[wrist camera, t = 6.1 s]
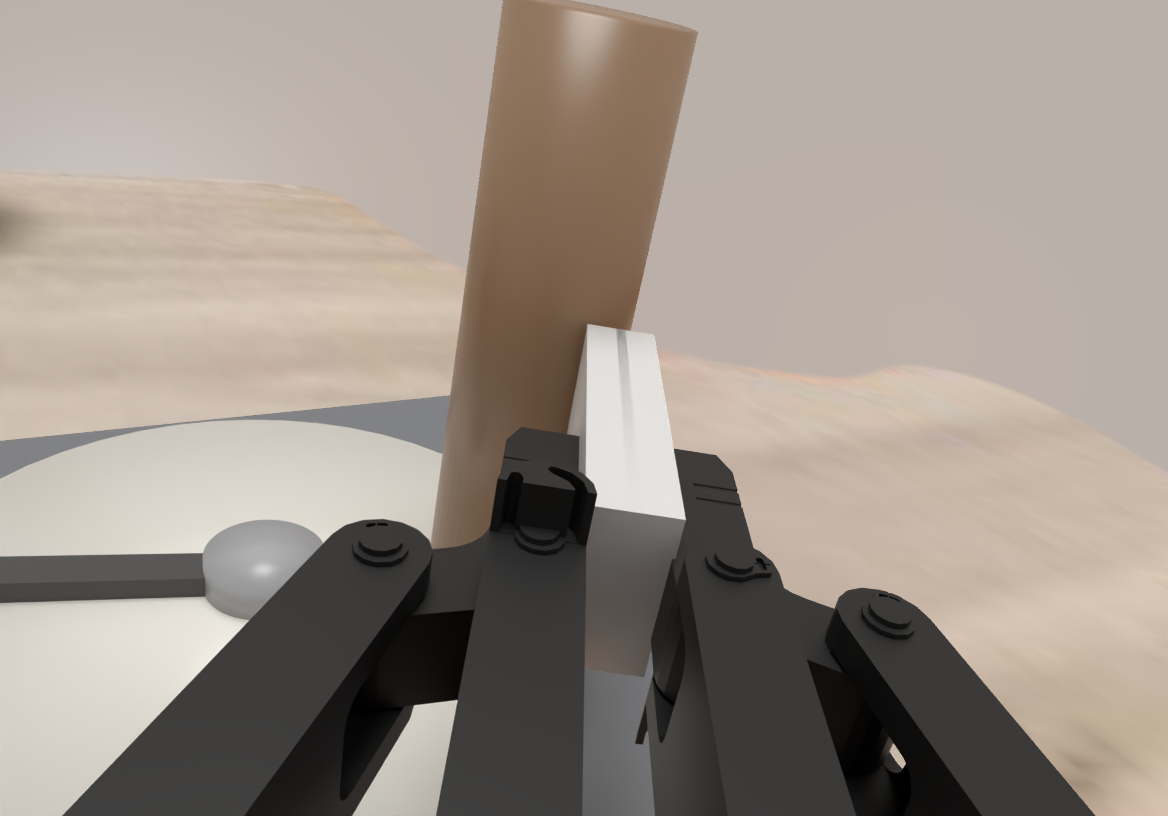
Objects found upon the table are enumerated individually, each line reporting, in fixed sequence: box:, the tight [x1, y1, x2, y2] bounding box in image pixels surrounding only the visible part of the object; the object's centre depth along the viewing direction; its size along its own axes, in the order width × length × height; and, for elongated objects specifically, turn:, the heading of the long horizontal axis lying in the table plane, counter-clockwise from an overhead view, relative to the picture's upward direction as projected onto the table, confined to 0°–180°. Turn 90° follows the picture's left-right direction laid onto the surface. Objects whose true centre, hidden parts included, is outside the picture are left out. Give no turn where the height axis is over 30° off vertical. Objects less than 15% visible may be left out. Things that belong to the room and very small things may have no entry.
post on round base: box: [0, 0, 698, 816], centre depth 18 cm, size 16×15×14 cm
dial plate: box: [0, 396, 655, 816], centre depth 21 cm, size 20×25×2 cm
